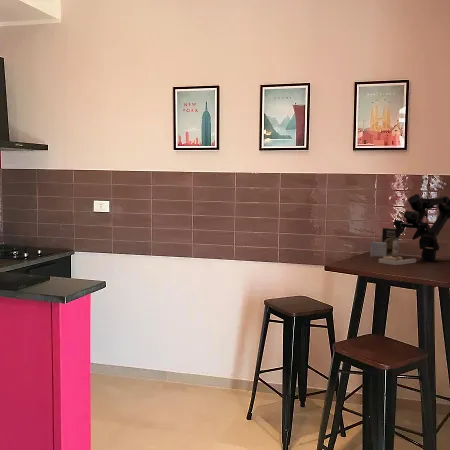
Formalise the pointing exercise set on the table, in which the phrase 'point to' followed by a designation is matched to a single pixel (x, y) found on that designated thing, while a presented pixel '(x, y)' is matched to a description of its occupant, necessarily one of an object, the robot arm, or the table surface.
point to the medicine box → (378, 249)
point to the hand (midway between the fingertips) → (404, 238)
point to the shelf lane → (397, 261)
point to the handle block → (394, 252)
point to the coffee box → (389, 239)
